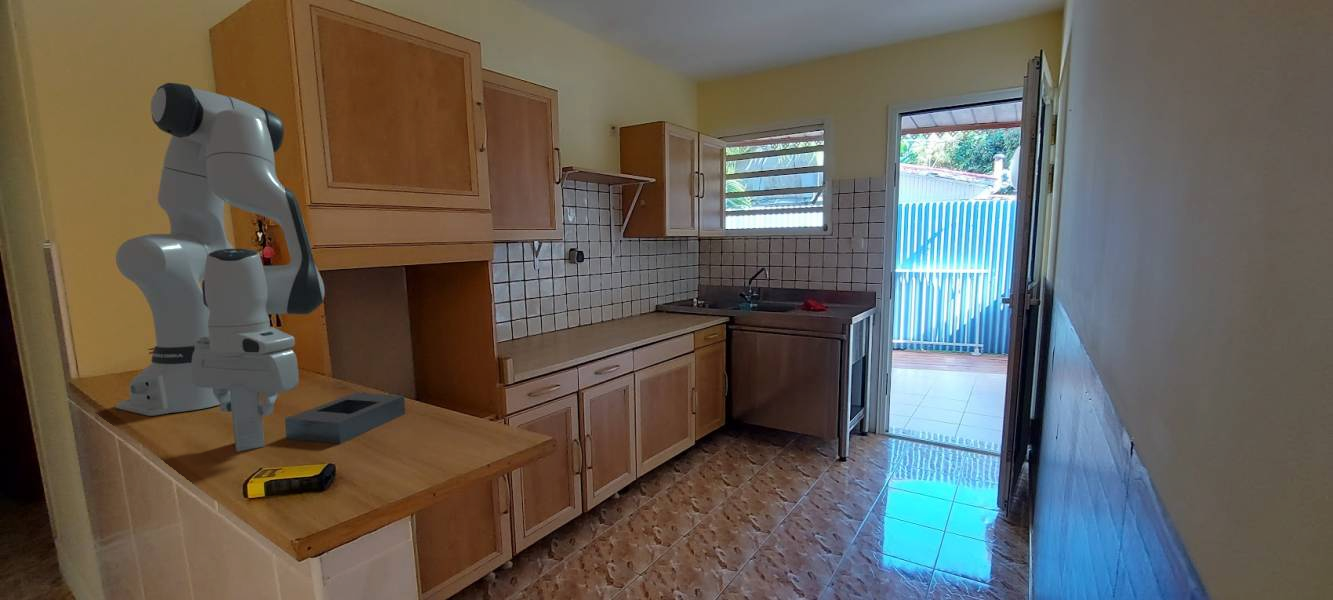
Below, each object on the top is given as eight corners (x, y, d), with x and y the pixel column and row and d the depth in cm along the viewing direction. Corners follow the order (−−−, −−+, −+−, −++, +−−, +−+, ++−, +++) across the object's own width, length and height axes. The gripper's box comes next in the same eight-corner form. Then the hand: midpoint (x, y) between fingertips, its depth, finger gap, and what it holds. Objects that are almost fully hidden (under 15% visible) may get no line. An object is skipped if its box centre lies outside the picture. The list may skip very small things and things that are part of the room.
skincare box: (234, 442, 101) (228, 380, 100) (262, 437, 104) (257, 376, 103) (235, 452, 97) (229, 387, 95) (264, 446, 99) (259, 383, 98)
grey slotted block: (286, 438, 103) (284, 418, 103) (357, 409, 121) (356, 392, 120) (340, 443, 101) (338, 423, 100) (405, 413, 118) (404, 395, 118)
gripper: (176, 339, 97) (184, 414, 99) (271, 344, 93) (277, 422, 95) (212, 333, 103) (218, 403, 105) (302, 338, 99) (307, 410, 101)
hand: (247, 412), depth 100 cm, fingers closed on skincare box, 7 cm apart
